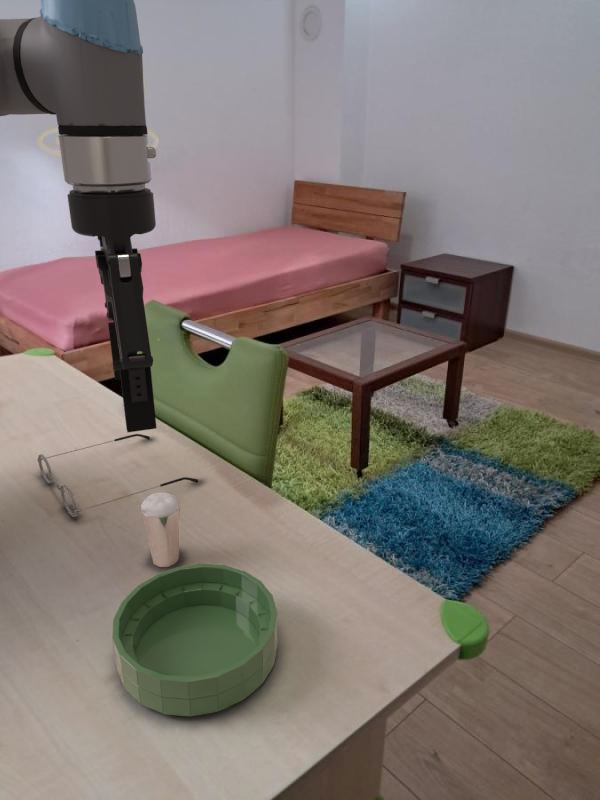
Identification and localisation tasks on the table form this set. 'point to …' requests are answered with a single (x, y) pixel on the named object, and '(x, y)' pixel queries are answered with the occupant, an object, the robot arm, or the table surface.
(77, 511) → the eyeglasses
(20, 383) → the table surface
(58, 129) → the robot arm
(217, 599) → the bowl
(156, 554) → the milkshake
